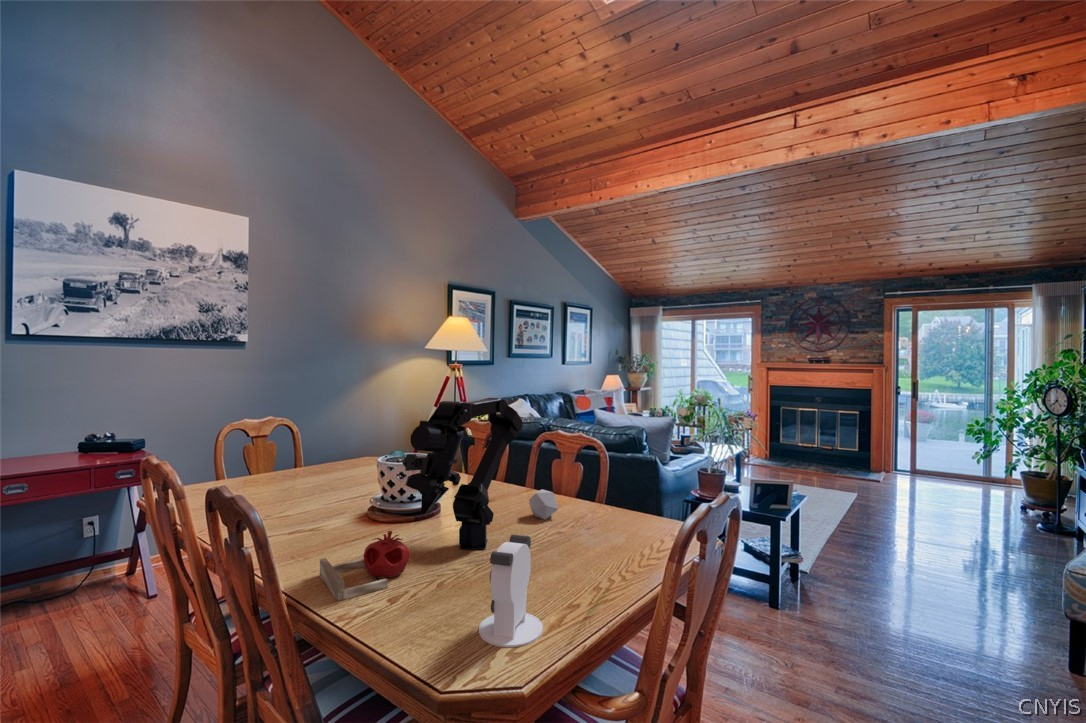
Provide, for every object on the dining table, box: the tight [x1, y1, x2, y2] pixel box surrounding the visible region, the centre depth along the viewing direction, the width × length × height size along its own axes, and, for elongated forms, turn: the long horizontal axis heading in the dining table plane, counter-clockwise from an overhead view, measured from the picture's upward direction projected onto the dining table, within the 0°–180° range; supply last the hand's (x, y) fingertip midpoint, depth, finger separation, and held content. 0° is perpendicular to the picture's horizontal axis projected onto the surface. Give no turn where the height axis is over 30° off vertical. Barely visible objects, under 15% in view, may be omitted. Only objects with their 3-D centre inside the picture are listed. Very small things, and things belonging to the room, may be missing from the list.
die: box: [528, 489, 559, 521], centre depth 153 cm, size 8×9×10 cm
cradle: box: [319, 557, 389, 602], centre depth 106 cm, size 10×15×4 cm, turn 37°
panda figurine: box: [478, 534, 544, 648], centre depth 88 cm, size 12×11×15 cm
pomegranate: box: [362, 530, 411, 579], centre depth 111 cm, size 10×10×9 cm
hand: (423, 513), depth 119 cm, fingers closed
